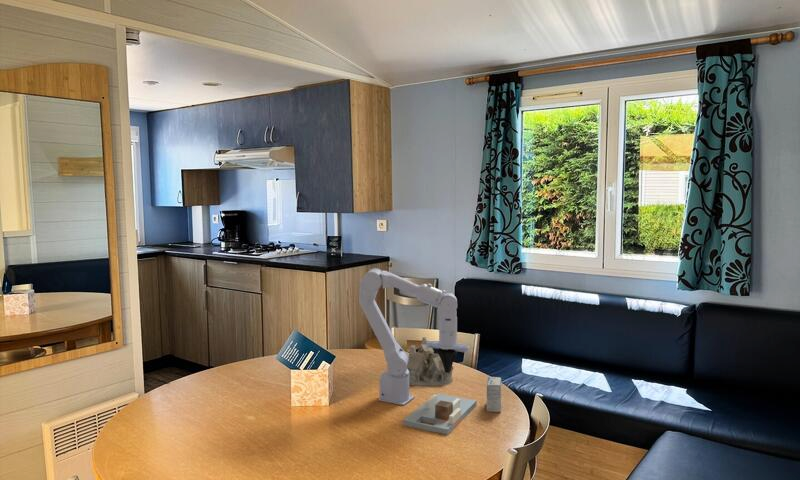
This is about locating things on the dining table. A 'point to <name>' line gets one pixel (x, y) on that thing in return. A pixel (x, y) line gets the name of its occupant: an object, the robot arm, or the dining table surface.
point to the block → (443, 410)
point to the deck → (441, 426)
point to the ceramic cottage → (426, 367)
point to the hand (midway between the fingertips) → (447, 371)
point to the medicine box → (494, 394)
